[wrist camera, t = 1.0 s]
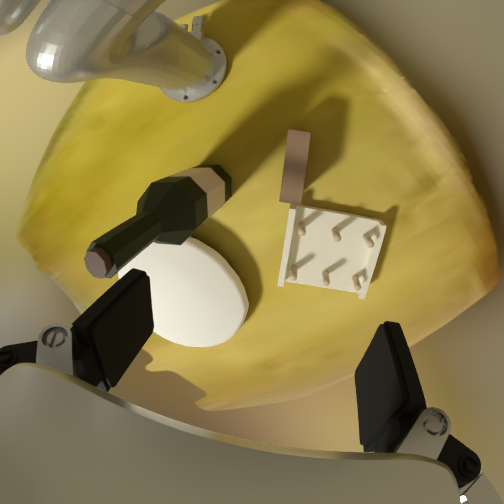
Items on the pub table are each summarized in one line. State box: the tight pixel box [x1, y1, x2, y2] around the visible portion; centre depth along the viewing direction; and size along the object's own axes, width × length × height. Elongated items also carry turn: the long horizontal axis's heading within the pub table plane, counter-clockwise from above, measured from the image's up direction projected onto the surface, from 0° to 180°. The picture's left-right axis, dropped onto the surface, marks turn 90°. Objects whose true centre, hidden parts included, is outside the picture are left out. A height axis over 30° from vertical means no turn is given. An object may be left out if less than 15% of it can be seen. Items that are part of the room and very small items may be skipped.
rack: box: [277, 203, 387, 299], centre depth 45 cm, size 14×16×5 cm
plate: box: [118, 237, 249, 347], centre depth 54 cm, size 28×6×27 cm
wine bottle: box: [84, 165, 232, 278], centre depth 33 cm, size 8×8×30 cm
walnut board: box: [279, 129, 311, 205], centre depth 38 cm, size 10×3×8 cm, turn 174°
